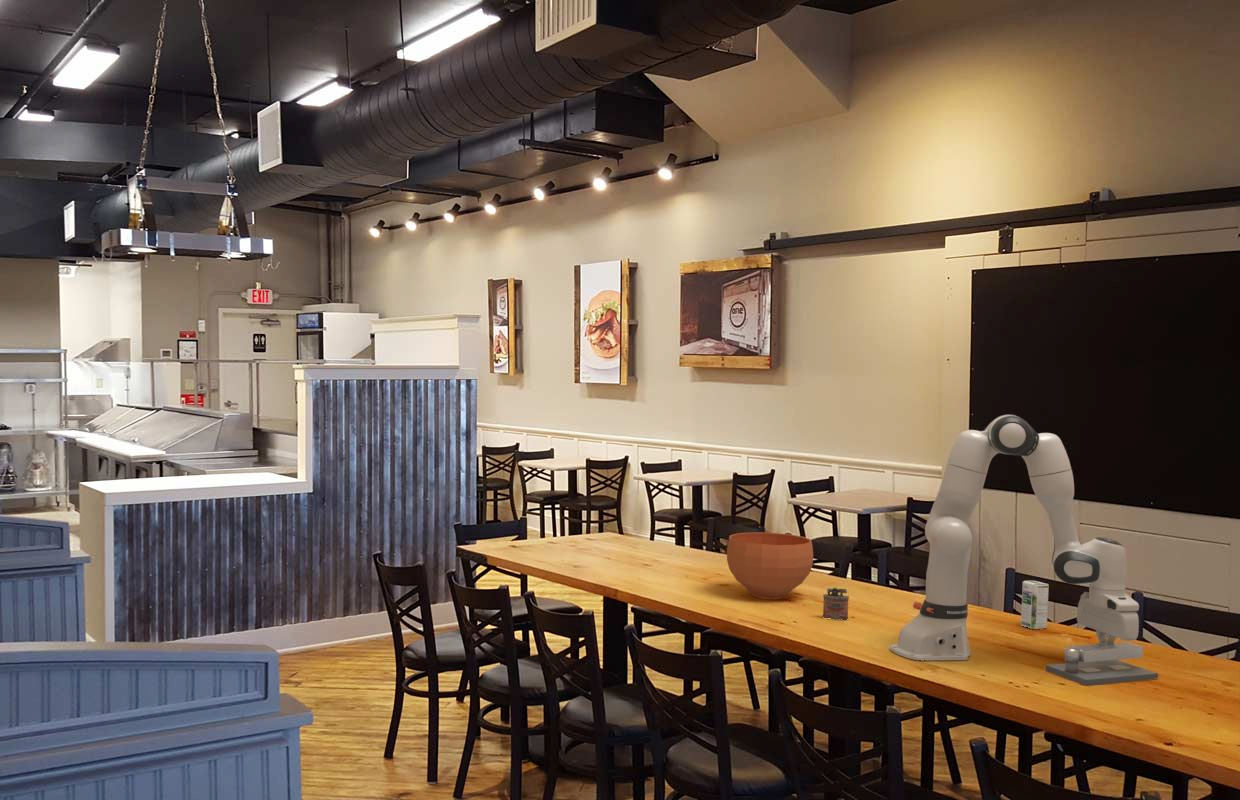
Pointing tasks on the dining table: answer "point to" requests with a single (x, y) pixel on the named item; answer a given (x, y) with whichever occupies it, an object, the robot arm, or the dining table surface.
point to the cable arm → (1103, 652)
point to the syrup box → (1034, 604)
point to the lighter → (835, 604)
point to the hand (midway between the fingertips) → (1105, 648)
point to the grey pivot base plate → (1100, 672)
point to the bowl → (769, 562)
